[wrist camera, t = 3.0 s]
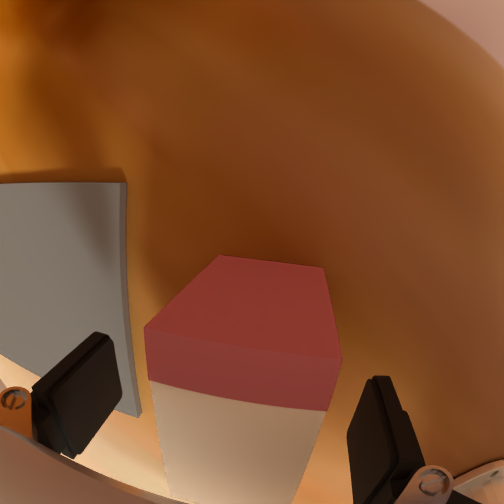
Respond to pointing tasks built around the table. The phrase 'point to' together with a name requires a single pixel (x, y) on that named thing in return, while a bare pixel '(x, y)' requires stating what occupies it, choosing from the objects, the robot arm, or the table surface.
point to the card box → (242, 379)
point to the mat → (65, 275)
